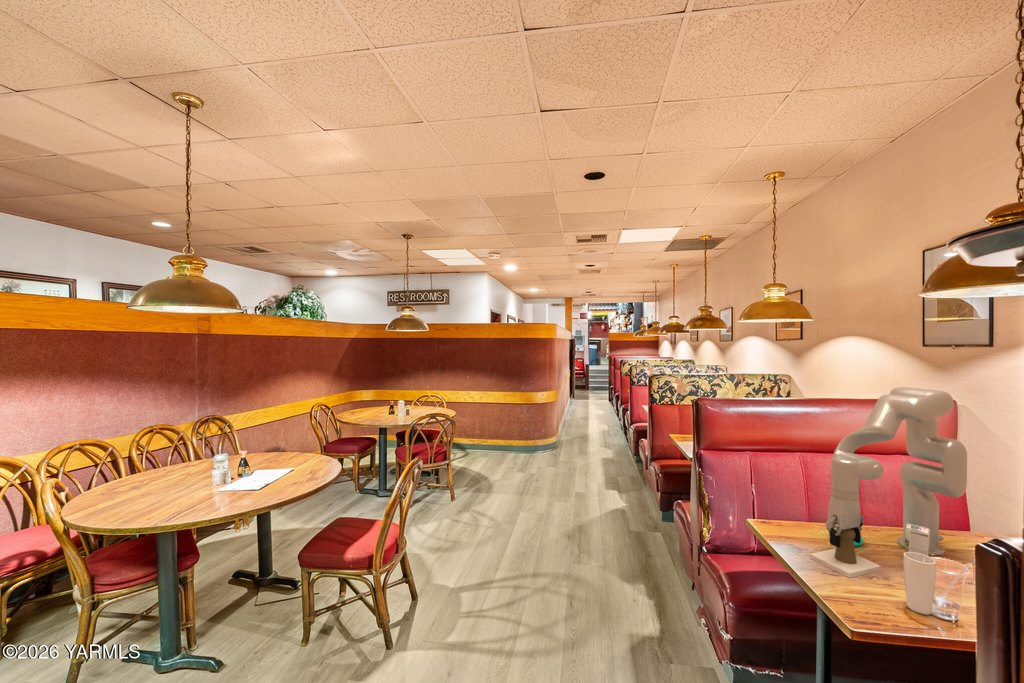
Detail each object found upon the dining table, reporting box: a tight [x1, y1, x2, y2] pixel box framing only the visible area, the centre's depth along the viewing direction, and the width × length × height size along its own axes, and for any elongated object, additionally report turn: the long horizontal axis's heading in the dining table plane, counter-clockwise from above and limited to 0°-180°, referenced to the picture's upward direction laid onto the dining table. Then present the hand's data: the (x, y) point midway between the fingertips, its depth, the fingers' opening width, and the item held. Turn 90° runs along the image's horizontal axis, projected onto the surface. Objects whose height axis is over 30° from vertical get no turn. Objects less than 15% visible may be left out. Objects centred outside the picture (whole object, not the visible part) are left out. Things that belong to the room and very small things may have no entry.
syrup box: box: [904, 524, 930, 557], centre depth 140 cm, size 6×6×14 cm
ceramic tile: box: [809, 548, 882, 579], centre depth 144 cm, size 15×13×2 cm
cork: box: [835, 528, 857, 564], centre depth 144 cm, size 6×6×11 cm
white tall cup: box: [902, 551, 937, 616], centre depth 120 cm, size 7×7×15 cm
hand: (845, 543), depth 144 cm, fingers open, 9 cm apart
